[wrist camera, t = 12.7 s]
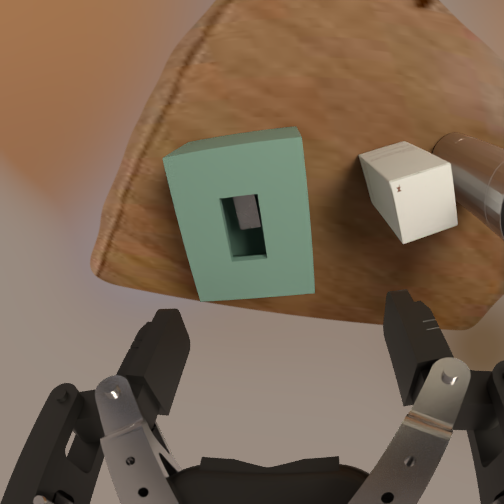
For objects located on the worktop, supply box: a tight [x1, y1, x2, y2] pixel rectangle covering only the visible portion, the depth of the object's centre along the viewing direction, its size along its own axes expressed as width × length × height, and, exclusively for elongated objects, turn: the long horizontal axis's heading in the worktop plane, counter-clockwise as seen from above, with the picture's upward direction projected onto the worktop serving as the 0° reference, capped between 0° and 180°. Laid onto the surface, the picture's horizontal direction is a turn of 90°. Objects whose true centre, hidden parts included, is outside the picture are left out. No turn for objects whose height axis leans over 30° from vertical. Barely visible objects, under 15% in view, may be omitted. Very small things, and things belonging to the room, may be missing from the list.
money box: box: [163, 126, 315, 302], centre depth 38 cm, size 14×18×10 cm
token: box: [233, 194, 262, 230], centre depth 39 cm, size 2×5×5 cm, turn 12°
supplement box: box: [358, 141, 458, 244], centre depth 33 cm, size 7×7×13 cm
